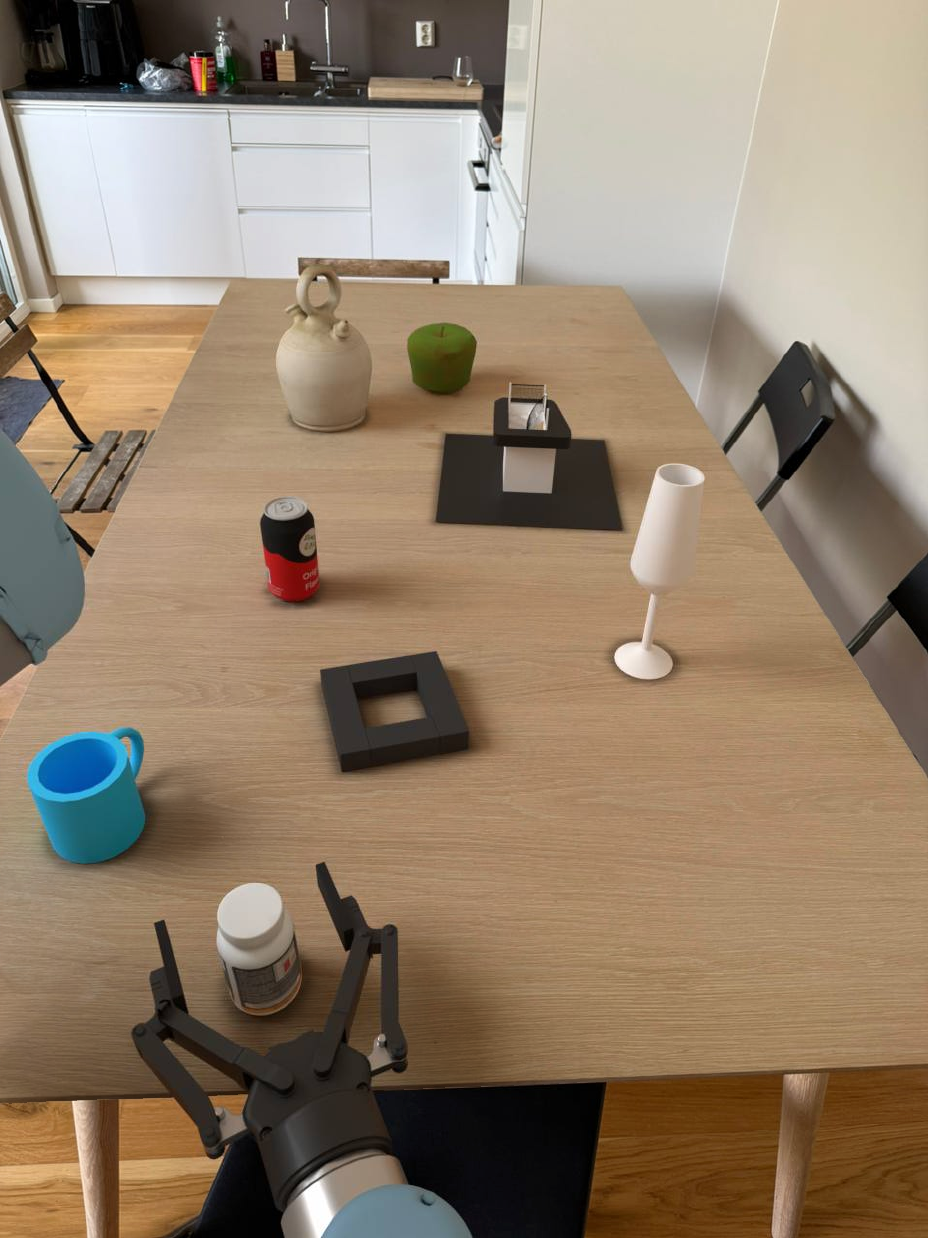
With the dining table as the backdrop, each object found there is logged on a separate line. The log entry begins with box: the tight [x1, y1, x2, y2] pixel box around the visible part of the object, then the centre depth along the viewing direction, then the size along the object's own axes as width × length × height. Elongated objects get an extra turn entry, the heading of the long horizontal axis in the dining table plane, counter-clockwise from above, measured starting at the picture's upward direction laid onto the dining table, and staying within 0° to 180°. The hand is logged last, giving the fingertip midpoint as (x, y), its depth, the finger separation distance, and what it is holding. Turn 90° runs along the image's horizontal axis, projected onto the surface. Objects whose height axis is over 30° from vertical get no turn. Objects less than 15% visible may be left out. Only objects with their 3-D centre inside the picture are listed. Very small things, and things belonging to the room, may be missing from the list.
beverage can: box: [259, 496, 321, 603], centre depth 108 cm, size 6×6×12 cm
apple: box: [406, 322, 478, 396], centre depth 159 cm, size 12×12×11 cm
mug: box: [26, 726, 146, 865], centre depth 80 cm, size 12×8×8 cm
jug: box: [275, 263, 373, 433], centre depth 143 cm, size 15×16×25 cm
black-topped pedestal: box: [435, 382, 623, 531], centre depth 132 cm, size 28×26×13 cm
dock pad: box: [319, 650, 470, 773], centre depth 93 cm, size 13×13×2 cm
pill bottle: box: [216, 882, 303, 1016], centre depth 67 cm, size 6×6×10 cm
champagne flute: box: [614, 463, 706, 680], centre depth 95 cm, size 7×7×24 cm
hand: (244, 901), depth 69 cm, fingers open, 12 cm apart
